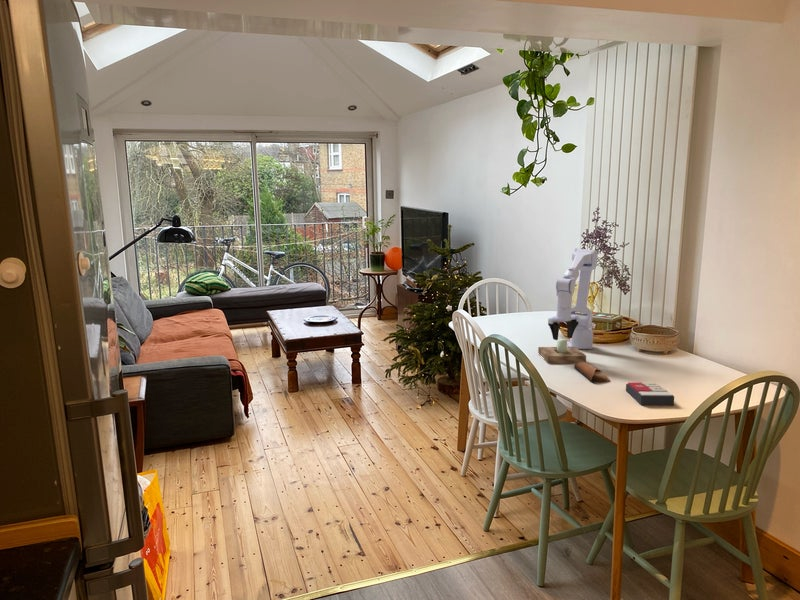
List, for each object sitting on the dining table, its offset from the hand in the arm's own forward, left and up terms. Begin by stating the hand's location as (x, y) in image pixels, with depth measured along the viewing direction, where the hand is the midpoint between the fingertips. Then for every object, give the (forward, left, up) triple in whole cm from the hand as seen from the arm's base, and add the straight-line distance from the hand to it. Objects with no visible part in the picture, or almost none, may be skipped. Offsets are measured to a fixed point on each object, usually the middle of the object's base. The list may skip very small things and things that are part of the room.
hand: (562, 338), depth 254 cm
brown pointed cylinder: (-5, +23, -9) cm, 25 cm away
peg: (0, 0, -9) cm, 9 cm away
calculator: (-15, +48, -9) cm, 52 cm away
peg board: (0, 0, -9) cm, 9 cm away
